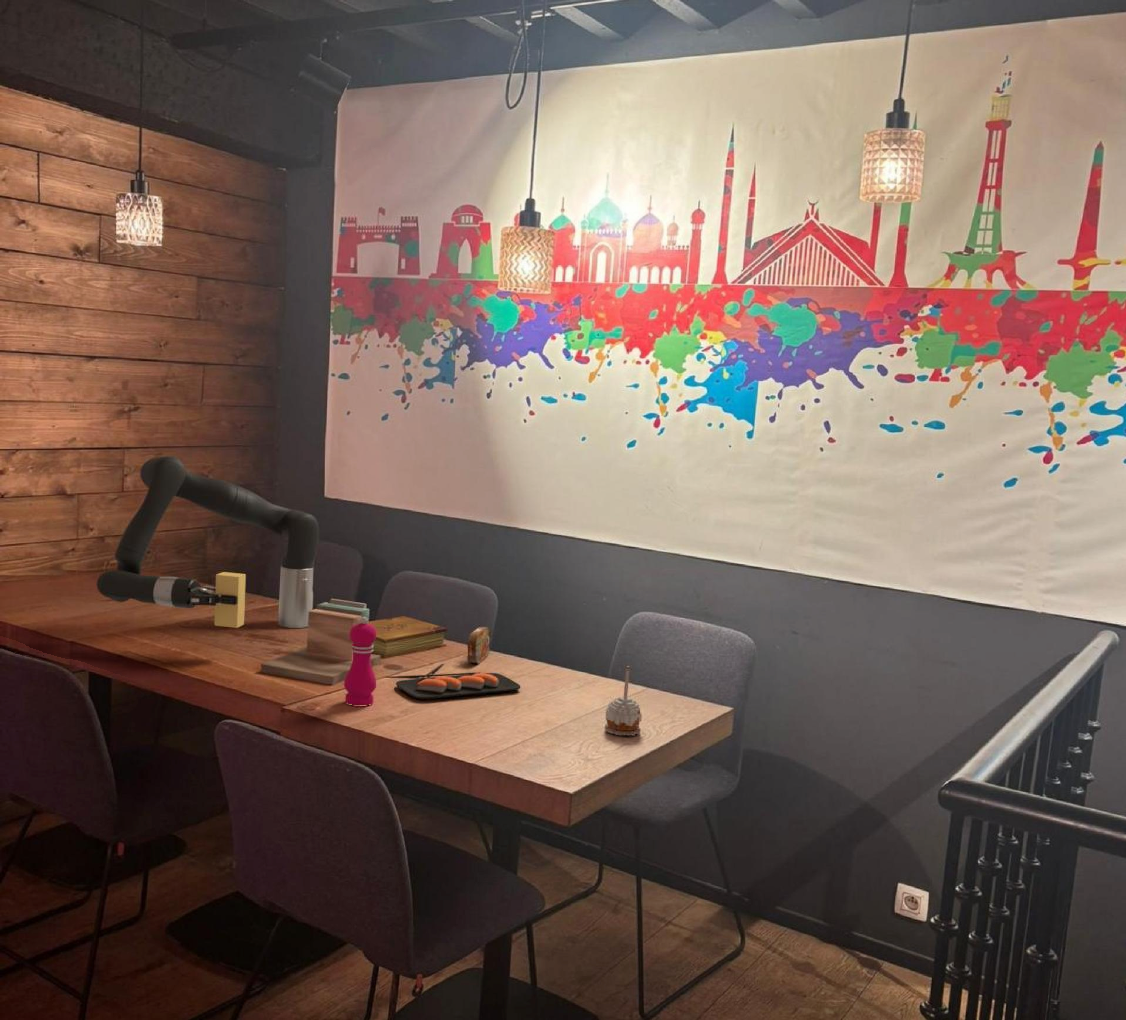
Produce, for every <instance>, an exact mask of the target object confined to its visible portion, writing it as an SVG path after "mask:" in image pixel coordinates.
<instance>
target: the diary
mask: <svg viewBox="0 0 1126 1020" xmlns="http://www.w3.org/2000/svg"><path fill="white" fill-rule="evenodd" d="M369 624H370V625H372V626H373V627H374V628H375V630H376V639H375V641H374V642H373V643H372V644H373V646H374V647H373V652H371V654H375V655H381V658H383V659H387V658H388V659H389V658H393V657H397V656H398V657H399V656H403V655H408V654H413V653H418V652H424V651H428V650H434V649H440V648H444V647H446V646H447V644H445V643H444V639H445V633H447V632H448V628H447V627H444V626H440V625H437V624H433V623H430V622H425V621H423V620H419V619H416V618H412V617H408V616H405V615H401V616H396V617H389V618H383V619H376V620H371V621H370V620H369Z"/></svg>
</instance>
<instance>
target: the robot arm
mask: <svg viewBox="0 0 1126 1020" xmlns="http://www.w3.org/2000/svg"><path fill="white" fill-rule="evenodd" d="M139 473H140V478H141V481H142V483H143V484H144V485H145V486H146V487H147V488H148V491H147V493H146V495H145V498H144V500H143V502H142V504H141V505H140V507H139V509H138V510H137V512H136V513H135V514H134V516H132V519H131V520H130V522H129V523H128V524H127V526H126V528H125V529H124V532H123V534H122V535H121V538H120V540H119V543H118V545H117V547H116V550H115V553H114V558H115V561H116V562H117V568H116V569H110V570H106V571H104V572H102V573H101V574H100V575H98V578H97V580H96V589H97V591H98V592H99V593H100V594H101V595H102V596H104V597H105V598H107V599H110V600H113V601H115V602H117V603H124V602H127V601H129V600H130V599H131V600H135V601H138V602H141V603H143V604H144V603H145V604H153V605H154V604H155V605H161V606H164V607H172V608H173V607H174V608H182V609H195V607H196V606H212V607H215V605H216V604H218V605H220V604H230V605H236V604H237V596H233V595H222V594H217V593H216V584H215V585H214V586H210V585H204V586H203V587H202V586H201V585H200V582H199V580H197V579H195V578H187V577H177V576H159V575H144V574H141V571H142V563H143V561H144V559H145V556H146V555H147V552H148V550H149V547H150V545H151V542H152V540H153V538H154V536H155V534H156V530H157V528H158V526H159V524H160V522H161V521H162V519H163V517H164V514H165V513H166V511H167V509H168V507H169V506H170V505H171V503H172V501H173V499H174V497H178V498H179V499H180V498H181V499H183V500H186V501H188V502H190V503H193V504H195V505H196V506H199V507H202V508H203V509H206V510H208V511H211V512H213V513H215V514H217V515H220V516H222V517H225V518H227V519H230V520H232V521H235V522H239V523H243V524H247V525H251V526H256V527H260V528H263V529H265V530H268V531H269V532H272V533H274V534H276V535H277V536H280V537H282V538H283V539H284V540H286V541H287V550H286V552H285V554H284V555H282V556H281V559H280V560H281V561H280V574H279V575H280V578H279V579H280V580H279V595H278V596H279V599H278V619H277V621H278V622H277V625H278V626H279V627H282V628H289V629H303V628H308V615H309V611H311V610H313V605H314V604H313V603H314V591H313V588H314V587H313V585H314V566H315V560H316V558H317V554H318V547H319V537H320V533H319V532H320V527H319V522H318V521H317V518H316V517H314V515H312V514H310V513H306V512H304V511H301V510H298V509H292V508H289V507H288V508H287V507H283V506H280V505H277V504H274V503H273V502H269V501H267V500H265V499H264V498H262V497H261V496H260V495H258V494H256V493H254V492H253V491H252V490H248V489H246V488H244V487H242V486H240V485H237V484H234V483H231V482H229V481H225V480H221V479H218V478H211V477H207V476H202V475H198V474H195V473H192V472H191V471H188V470H186V468H185V466H184V464H183V461H181V460H180V459H179V458H176V457H174V456H156V457H152V458H150V459H148V460H147V461H145V462H144V463H143V464H142V465H141V467H140V472H139Z"/></svg>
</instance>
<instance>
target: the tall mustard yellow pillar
mask: <svg viewBox="0 0 1126 1020" xmlns="http://www.w3.org/2000/svg"><path fill="white" fill-rule="evenodd" d="M246 575H247V574H245V573H239V572H238V573H236V572H228V571H227V572H226V571H222V572H220V573H217V574H216V575H215V585H216V593H217V594H222V595H233V596H237V604H236V605H230V604H220V605H218V604H216V605H215V606H214V626H217V627H226V628H234V629H238V628H240V627H242V626H243V625H245V610H246V609H245V605H246V579H247V578H246V577H247V576H246Z"/></svg>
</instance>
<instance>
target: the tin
mask: <svg viewBox="0 0 1126 1020" xmlns="http://www.w3.org/2000/svg"><path fill="white" fill-rule="evenodd" d="M491 639H492V637H491V629H490V628H489V626H486V627H485V626H479V627H477V628H476V629H474V630H473V631H472V632H470V634H469V636H468V640H467V661H468V662H469V663H471V664H478V665H479V664H481V663H482V662H483V661H484V660H485V659H487V658H488V656H489V655H490V651H491V642H492V641H491Z"/></svg>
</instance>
